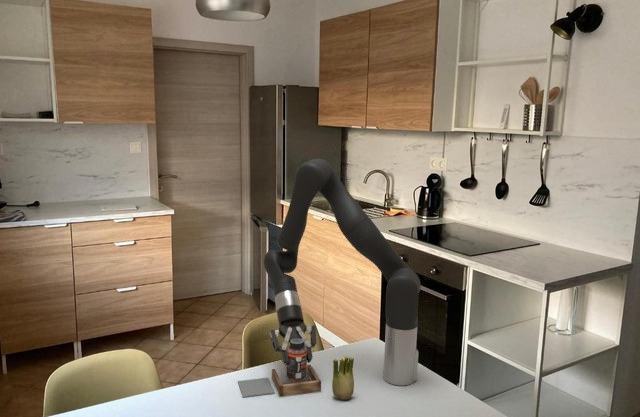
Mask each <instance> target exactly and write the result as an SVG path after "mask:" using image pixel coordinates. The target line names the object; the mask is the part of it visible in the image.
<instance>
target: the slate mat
mask: <svg viewBox="0 0 640 417" xmlns="http://www.w3.org/2000/svg"><path fill="white" fill-rule="evenodd" d="M237 383H238V387H239V390H240V393H241V396H242V398H243V399H244V398H246V399H247V398H253V397H260V396H268V395H274V394H275V393H276V392H275V390H274V387H273V385H272V383H271V381H270V378H269V377H259V378H253V379H251V378H250V379H244V380H237ZM275 395H276V394H275Z"/></svg>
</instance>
